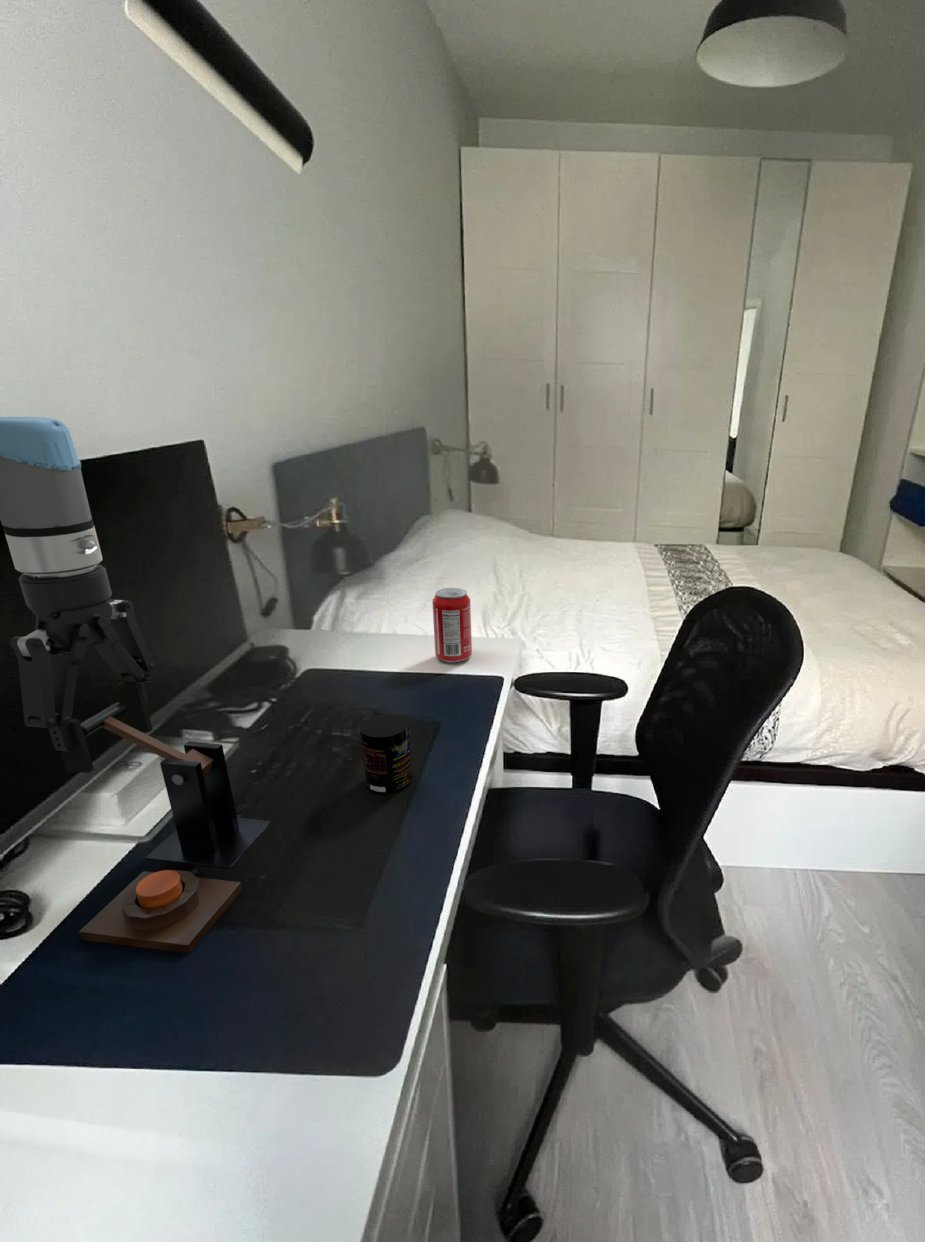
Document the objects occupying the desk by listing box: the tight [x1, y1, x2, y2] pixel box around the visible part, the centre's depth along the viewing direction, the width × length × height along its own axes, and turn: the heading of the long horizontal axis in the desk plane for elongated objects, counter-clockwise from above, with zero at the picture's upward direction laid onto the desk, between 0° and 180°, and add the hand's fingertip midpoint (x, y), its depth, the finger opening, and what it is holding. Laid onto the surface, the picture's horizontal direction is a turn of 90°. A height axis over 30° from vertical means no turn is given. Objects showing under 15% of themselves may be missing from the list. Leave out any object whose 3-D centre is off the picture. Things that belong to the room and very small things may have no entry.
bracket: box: [144, 740, 272, 869], centre depth 80 cm, size 11×9×14 cm
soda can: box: [431, 587, 473, 664], centre depth 137 cm, size 8×8×15 cm
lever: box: [80, 701, 213, 777], centre depth 77 cm, size 14×6×2 cm, turn 83°
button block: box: [78, 869, 243, 954], centre depth 70 cm, size 12×9×4 cm
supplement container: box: [359, 713, 414, 795], centre depth 94 cm, size 7×7×10 cm
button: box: [136, 869, 183, 909], centre depth 69 cm, size 4×4×2 cm
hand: (112, 748), depth 78 cm, fingers open, 8 cm apart
